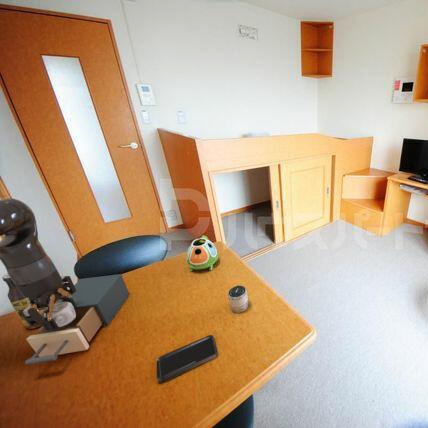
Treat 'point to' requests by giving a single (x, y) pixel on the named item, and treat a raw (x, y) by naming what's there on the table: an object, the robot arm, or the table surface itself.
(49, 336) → the drawer
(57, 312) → the die
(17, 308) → the sauce bottle
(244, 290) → the camera lens
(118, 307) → the cabinet
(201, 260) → the turtle holder
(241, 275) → the table surface
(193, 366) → the phone
